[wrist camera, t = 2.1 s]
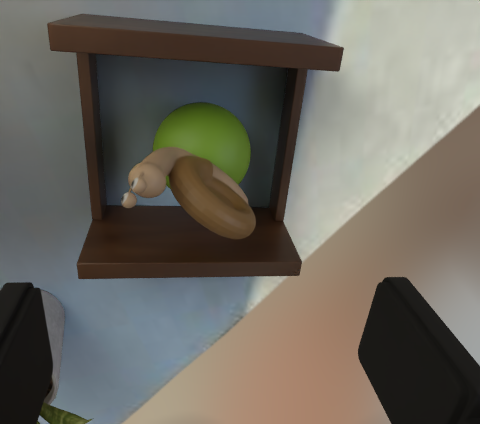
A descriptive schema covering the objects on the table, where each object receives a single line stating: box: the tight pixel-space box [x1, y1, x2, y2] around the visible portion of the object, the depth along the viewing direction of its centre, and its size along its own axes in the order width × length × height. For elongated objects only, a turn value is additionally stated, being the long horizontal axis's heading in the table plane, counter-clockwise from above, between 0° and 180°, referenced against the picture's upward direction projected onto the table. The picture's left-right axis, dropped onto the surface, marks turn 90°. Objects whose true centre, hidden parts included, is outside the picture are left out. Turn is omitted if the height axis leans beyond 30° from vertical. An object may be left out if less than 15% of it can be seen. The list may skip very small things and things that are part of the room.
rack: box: [47, 14, 344, 279], centre depth 22 cm, size 12×12×6 cm
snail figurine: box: [121, 102, 256, 239], centre depth 20 cm, size 5×6×12 cm
